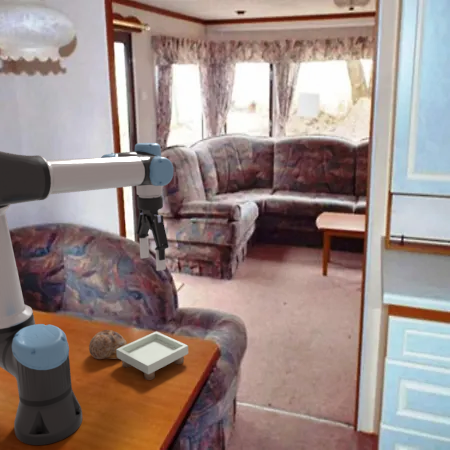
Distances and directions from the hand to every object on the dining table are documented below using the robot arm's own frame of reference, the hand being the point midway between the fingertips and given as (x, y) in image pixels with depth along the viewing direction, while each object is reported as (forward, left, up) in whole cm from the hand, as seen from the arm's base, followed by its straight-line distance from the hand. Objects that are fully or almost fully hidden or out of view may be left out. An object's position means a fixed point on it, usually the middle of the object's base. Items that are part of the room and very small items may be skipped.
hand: (152, 263), depth 154 cm
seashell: (-16, +3, -26) cm, 30 cm away
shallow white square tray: (-11, -11, -25) cm, 30 cm away
